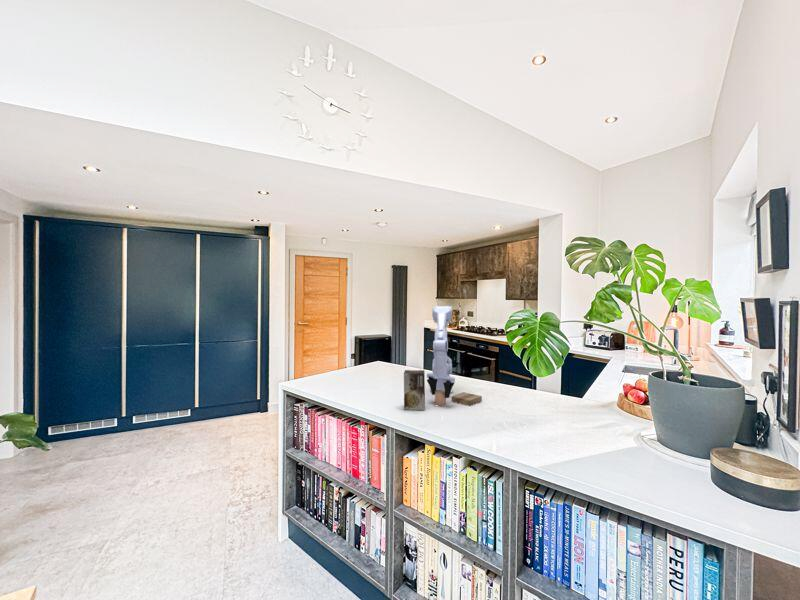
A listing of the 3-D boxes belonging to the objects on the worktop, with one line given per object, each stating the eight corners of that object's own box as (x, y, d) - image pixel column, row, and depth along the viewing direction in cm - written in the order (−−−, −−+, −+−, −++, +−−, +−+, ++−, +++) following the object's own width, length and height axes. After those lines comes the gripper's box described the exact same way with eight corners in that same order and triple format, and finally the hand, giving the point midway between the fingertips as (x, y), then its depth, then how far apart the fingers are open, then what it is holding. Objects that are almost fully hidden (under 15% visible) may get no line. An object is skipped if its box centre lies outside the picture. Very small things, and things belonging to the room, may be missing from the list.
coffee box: (425, 406, 158) (425, 370, 157) (424, 410, 151) (424, 373, 151) (404, 405, 158) (404, 369, 158) (403, 410, 152) (403, 372, 152)
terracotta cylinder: (432, 404, 160) (432, 391, 160) (439, 402, 163) (439, 389, 163) (441, 407, 156) (441, 393, 156) (448, 404, 160) (448, 391, 160)
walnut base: (451, 401, 164) (451, 396, 164) (463, 397, 171) (463, 392, 171) (469, 406, 157) (469, 400, 157) (481, 401, 164) (481, 396, 164)
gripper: (422, 365, 162) (422, 394, 162) (448, 369, 152) (448, 401, 152) (432, 363, 167) (432, 391, 167) (457, 367, 157) (457, 397, 157)
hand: (440, 396), depth 160 cm, fingers open, 7 cm apart
